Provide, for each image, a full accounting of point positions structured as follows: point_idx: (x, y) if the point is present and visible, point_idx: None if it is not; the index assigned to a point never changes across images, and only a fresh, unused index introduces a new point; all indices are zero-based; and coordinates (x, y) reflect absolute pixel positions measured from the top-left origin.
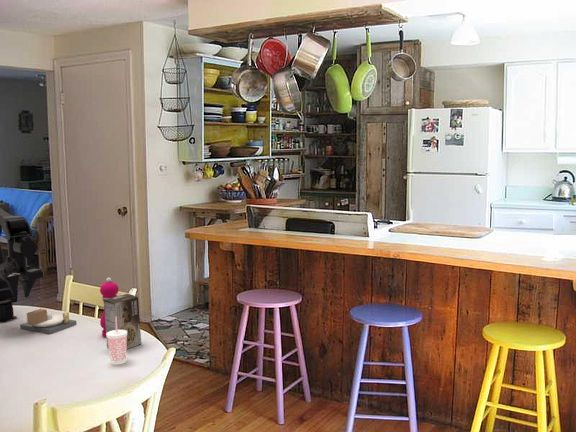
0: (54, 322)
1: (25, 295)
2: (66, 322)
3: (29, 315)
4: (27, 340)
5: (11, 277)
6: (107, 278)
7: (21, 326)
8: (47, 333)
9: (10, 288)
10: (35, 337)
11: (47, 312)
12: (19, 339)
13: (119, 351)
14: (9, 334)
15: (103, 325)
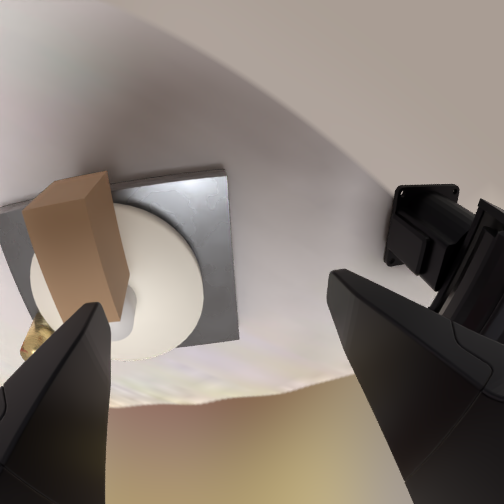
0: (30, 281)
1: (69, 318)
2: (33, 320)
3: (59, 197)
4: (2, 88)
5: (499, 487)
6: None
7: (211, 174)
8: (11, 205)
9: (415, 312)
10: (10, 138)
11: (121, 328)
12: (47, 64)
13: None
14: (182, 72)
15: None
